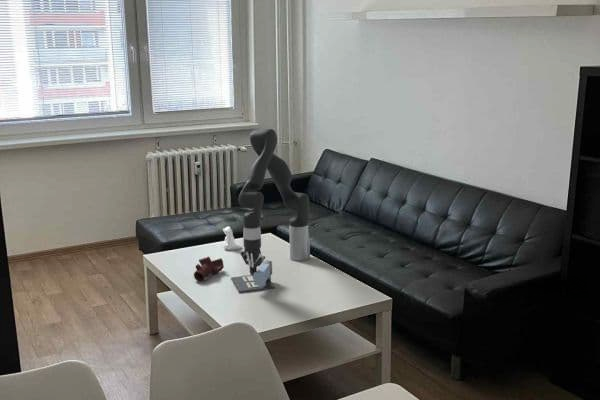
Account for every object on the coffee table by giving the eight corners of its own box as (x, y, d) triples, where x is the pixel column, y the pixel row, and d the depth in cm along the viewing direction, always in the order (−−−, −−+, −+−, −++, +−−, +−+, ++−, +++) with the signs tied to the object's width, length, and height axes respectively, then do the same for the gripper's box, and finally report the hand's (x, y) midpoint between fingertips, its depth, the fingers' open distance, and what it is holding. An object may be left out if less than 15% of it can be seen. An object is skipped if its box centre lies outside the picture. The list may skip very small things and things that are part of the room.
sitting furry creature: (243, 248, 361) (242, 226, 358) (231, 252, 355) (230, 229, 352) (230, 245, 367) (229, 223, 364) (218, 248, 361) (217, 226, 358)
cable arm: (263, 271, 313) (262, 260, 312) (273, 272, 312) (273, 260, 311) (254, 285, 297) (253, 272, 296) (265, 285, 296) (264, 273, 295)
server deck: (266, 275, 320) (265, 267, 319) (276, 288, 304) (275, 280, 303) (231, 279, 316) (230, 271, 315) (239, 293, 299) (238, 285, 298)
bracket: (227, 265, 326) (218, 247, 324) (209, 284, 313) (198, 265, 310) (218, 268, 330) (208, 250, 327) (199, 287, 316) (188, 268, 314)
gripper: (269, 237, 295) (270, 275, 299) (246, 231, 303) (248, 269, 307) (257, 241, 289) (258, 280, 294) (234, 235, 298) (236, 273, 302)
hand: (253, 274), depth 301 cm, fingers closed
